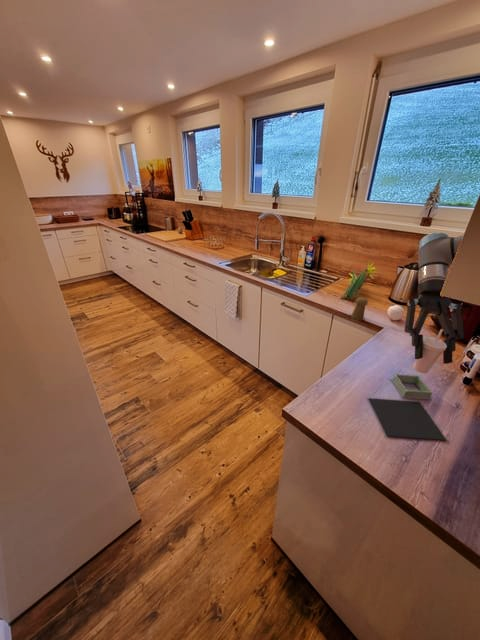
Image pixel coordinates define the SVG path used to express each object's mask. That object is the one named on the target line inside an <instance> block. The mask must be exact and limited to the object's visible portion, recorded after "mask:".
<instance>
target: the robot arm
mask: <svg viewBox="0 0 480 640" xmlns="http://www.w3.org/2000/svg"><path fill="white" fill-rule="evenodd" d="M463 235H464V234H463ZM463 235H459V236H455V237H449V235H448V233H445V232H433V233H429V234H427V235H425V236H423V237H422V238H421V239H420V241H419V244H418V245H419V246H418V252H417V256H418V271H417V273H418V275H417V283H418V285H417V298H413V297H410V298H409V299H408V300H407V301H405V305H406V308H407V309H406V316H405V324H404V330H403V331H404V332H405V333H406V334H407V333H408V334H409V335H410V337H411V347H414V360H415V359H420V358H423V336H424V334H420V333H421V331H422V329H423V327H424V324H425V322H426V320H427V317H428V315H430V314H431V315H435V317H436V318H437V319H438V321H439V323H440V326H441V329H443V331H442V333H443V334H444V336H445V339H443V340H442V341H443V342H444V343H445V344H446V345H447V347H446V350H445V351H443V352H442V356H443V357H442V358H443V359H442V360H443V362H442V364H445V365H448V364H452V363H453V353H454V352H455V351H456V341H457V340H460V339H463V338H464V337H465V332H464V324H463V319H462V309H463V304H462V303H458V304H456V303H453V302H452V300H451V299H450V297H449V298H446V297H441V296H440V292H441V290H442V287H443V284H444V281H445V279H446V277H447V274H448V271H449V272H450V265H453V264H452V261H453V259H454V257H455V255H456V252H457V249H458V247H459V244H460V242H461V240H462V237H463ZM416 306H418V307H419V308H420V310H419V313H418V316H417V318H416V321H415V316H416ZM448 308H449V310H448ZM449 312H450V317H449Z"/></svg>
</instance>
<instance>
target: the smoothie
mask: <svg viewBox="0 0 480 640" xmlns="http://www.w3.org/2000/svg"><path fill="white" fill-rule="evenodd" d="M442 333H443V329H442V328H440V330H439V332H438V334H437V336H436V337H434V336H428V335H423V358H420V359H415V358H414V363H413V369H414V370H415V371H416V372H418V373H420V374H428V373H429V371H430V370H431V369H432V367H433V366H434V364H435V363H436V362H437V360H438V359H439V358H440V356H441V355H442V354H443V351H445V350H446V347H447V345H446V344H445V343H444V342H443V340H441V339H440V338H441V336H442Z"/></svg>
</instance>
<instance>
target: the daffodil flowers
mask: <svg viewBox="0 0 480 640" xmlns="http://www.w3.org/2000/svg"><path fill="white" fill-rule="evenodd" d="M374 264H375V261H373V262H372V263H371V264H367V268H366V269H364V270H363V271H362V272H361V273H360V274H358V275H357V272H356V269H355V268H353V270H352V273H351V272H348V274H349V275H350V276H351V278H348V279H347V280H346V281H347V282H350V283H349V285H348V287H347V288H346V290H345V291H344V294H343V295H342V296H341V299H343V298H344V299H345V300H348V301H350V300H351V299H352V297H353V299H352V300H351V301H352V302H353V301H354V300H355V299H356V298H357V296H358V294H359V292H360V291H361V289H362V287H363V286H367V284H366V283H369V282H370V281H369V280H367V281H365V280H366V279H367V278H368V277H370V278H371V279H373V280H375V278H374V275H373V274H375V273H376V272H377V270H376V266H374ZM366 273H368V274H366ZM354 295H355V296H354Z"/></svg>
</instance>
